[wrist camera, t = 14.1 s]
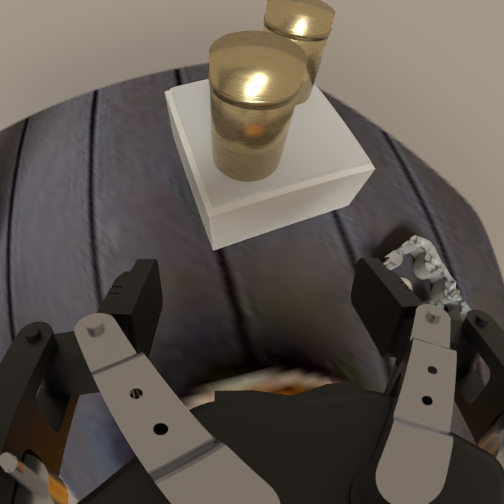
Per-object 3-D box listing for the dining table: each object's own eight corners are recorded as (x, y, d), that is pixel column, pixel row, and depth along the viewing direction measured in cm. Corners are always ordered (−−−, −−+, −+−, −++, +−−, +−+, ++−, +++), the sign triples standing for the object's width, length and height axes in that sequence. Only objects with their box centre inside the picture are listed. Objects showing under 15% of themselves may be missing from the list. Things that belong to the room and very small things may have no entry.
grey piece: (356, 277, 27) (375, 264, 23) (405, 240, 28) (426, 224, 25) (412, 367, 24) (437, 366, 20) (455, 322, 26) (480, 315, 22)
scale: (213, 250, 26) (208, 213, 19) (172, 132, 30) (162, 83, 23) (348, 205, 29) (377, 164, 22) (287, 105, 33) (298, 59, 26)
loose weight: (224, 191, 20) (227, 87, 11) (202, 137, 21) (197, 37, 13) (292, 171, 21) (326, 73, 12) (264, 122, 22) (281, 27, 14)
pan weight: (269, 110, 23) (286, 18, 14) (247, 76, 24) (255, -6, 16) (321, 101, 24) (349, 20, 15) (295, 69, 25) (313, -6, 17)
